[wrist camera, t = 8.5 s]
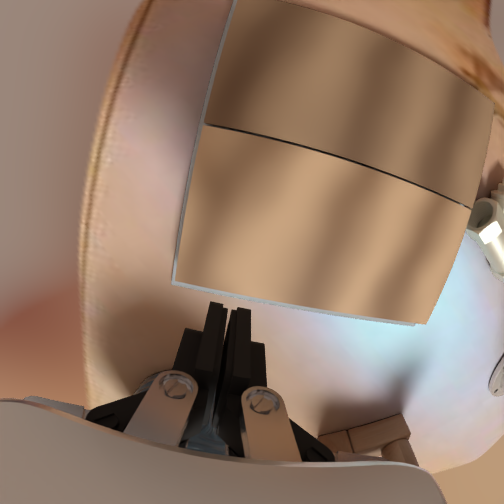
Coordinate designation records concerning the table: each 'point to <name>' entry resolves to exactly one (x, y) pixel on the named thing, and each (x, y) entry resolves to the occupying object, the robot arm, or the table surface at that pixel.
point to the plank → (314, 230)
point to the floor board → (350, 97)
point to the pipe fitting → (490, 229)
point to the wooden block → (375, 440)
